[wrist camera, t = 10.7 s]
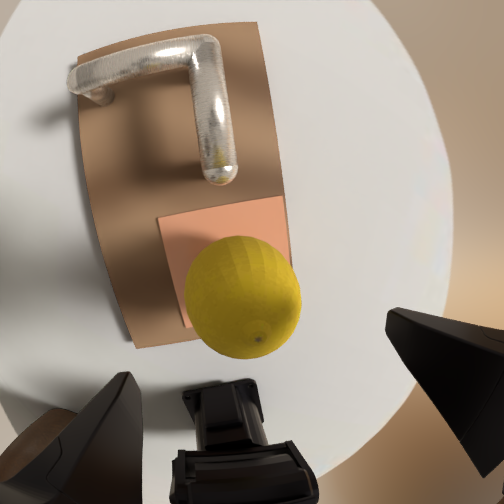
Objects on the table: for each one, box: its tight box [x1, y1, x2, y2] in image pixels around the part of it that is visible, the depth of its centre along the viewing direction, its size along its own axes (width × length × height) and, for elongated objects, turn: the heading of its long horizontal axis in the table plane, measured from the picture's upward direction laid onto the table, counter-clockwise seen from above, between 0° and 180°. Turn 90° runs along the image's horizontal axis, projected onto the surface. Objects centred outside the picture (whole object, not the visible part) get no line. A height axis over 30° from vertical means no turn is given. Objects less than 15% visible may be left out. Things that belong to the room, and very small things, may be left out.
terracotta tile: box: [158, 195, 290, 328], centre depth 17 cm, size 8×8×1 cm
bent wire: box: [67, 34, 238, 186], centre depth 12 cm, size 8×8×5 cm
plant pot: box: [0, 408, 78, 482], centre depth 13 cm, size 15×15×16 cm
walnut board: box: [77, 22, 293, 349], centre depth 16 cm, size 21×12×1 cm, turn 8°
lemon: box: [184, 235, 301, 359], centre depth 13 cm, size 6×6×8 cm
